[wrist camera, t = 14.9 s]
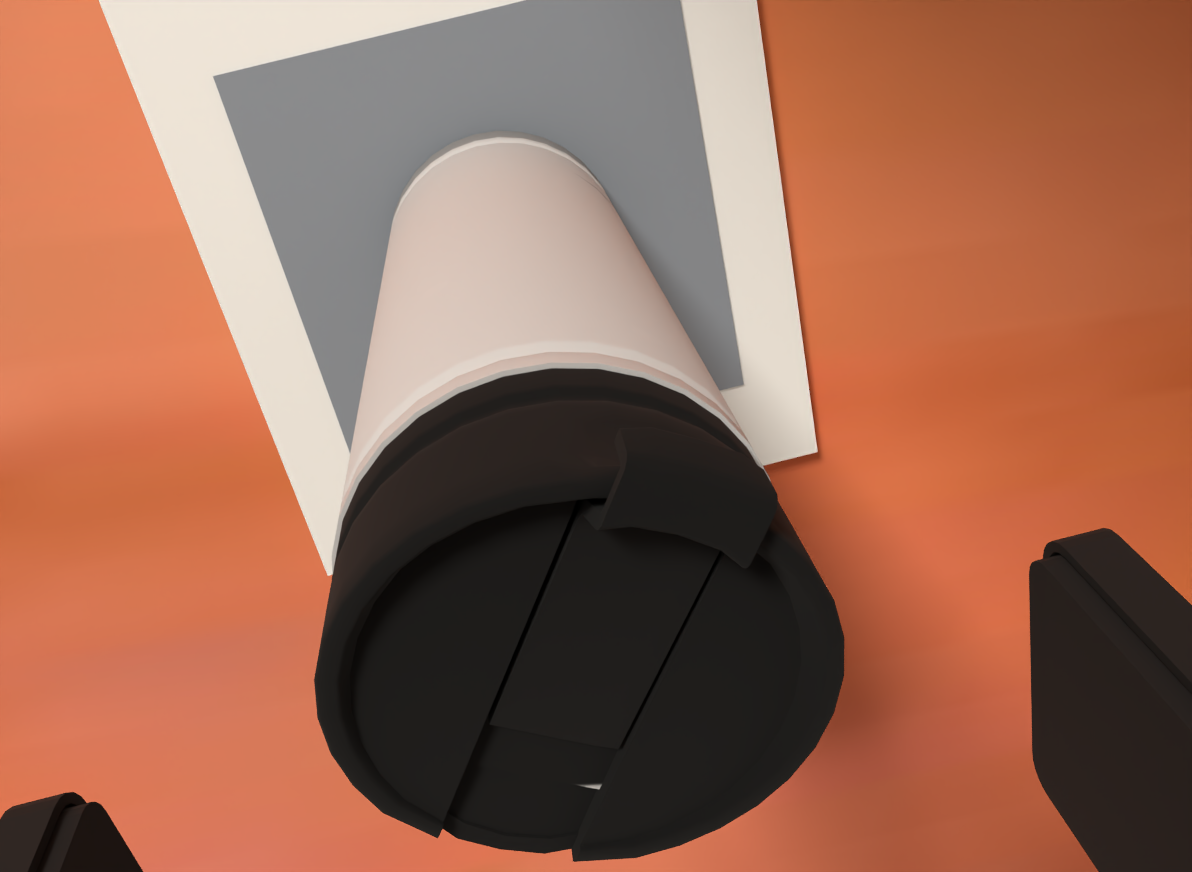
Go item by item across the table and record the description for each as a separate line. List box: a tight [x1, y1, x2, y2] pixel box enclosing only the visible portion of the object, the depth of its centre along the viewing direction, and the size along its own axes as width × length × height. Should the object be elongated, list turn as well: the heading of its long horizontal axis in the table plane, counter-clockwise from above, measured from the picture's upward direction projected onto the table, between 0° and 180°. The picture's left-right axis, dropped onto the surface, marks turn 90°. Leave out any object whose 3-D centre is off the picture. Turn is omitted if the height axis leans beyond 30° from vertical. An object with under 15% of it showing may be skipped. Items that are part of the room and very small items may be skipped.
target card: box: [99, 0, 818, 576], centre depth 30 cm, size 18×16×1 cm
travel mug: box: [314, 131, 844, 862], centre depth 21 cm, size 6×7×20 cm
